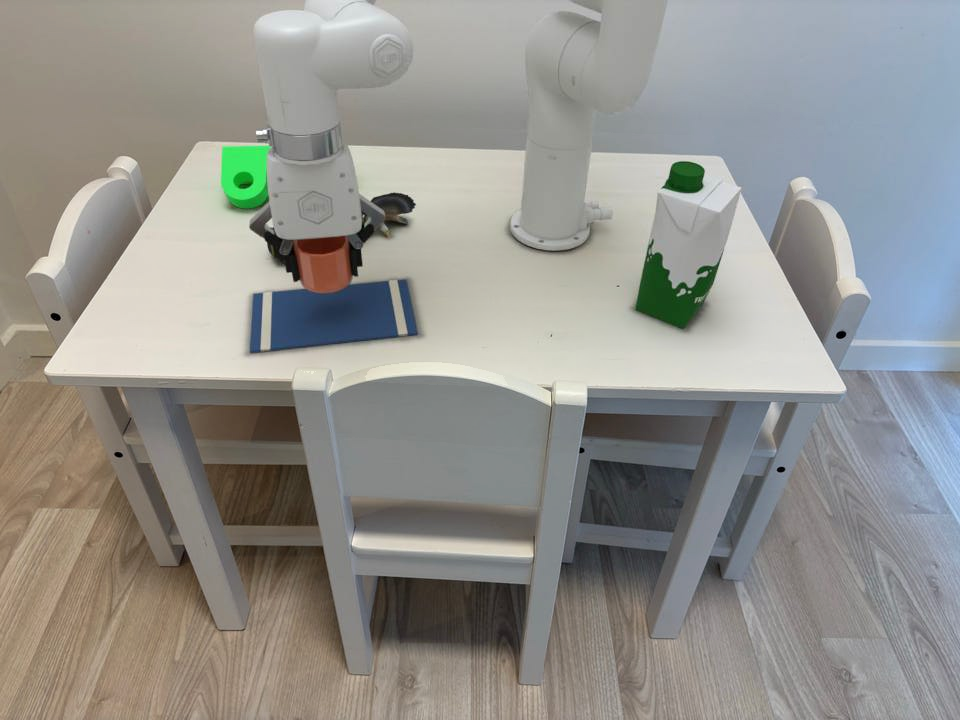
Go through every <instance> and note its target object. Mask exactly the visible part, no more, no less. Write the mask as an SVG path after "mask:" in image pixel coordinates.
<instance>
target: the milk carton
mask: <svg viewBox="0 0 960 720" xmlns="http://www.w3.org/2000/svg"><path fill="white" fill-rule="evenodd" d="M705 173H706V170H705V168H704V167H703V166H702V165H701V164H698V163H697V162H693V161H687V160H680V161H675V162H673V163H672V164H671V165H670V170H669V173H668V178H667V179H666V180H665V182H664V184H663V185H662V187H661V188H660V189H659V190H658V192H657V195H656V205H655V213H654V217H653V222H652V227H651V230H650V235H649V239H648V240H649V241H648V244H647V249H646V253H645V257H644V262H643V267H642V271H641V277H640V282H639V287H638V293H637V298H636V304H635V310H636V311H638V312H641V313H643V314H645V315H648V316H650V317H653V318H655V319H657V320H659V321H662V322H665V323H667V324H670V325H673V326H675V327H677V328H680V329H682V330H684V329H685V328H686V327H687V325H688V324H689V323H690V322H691V320H692V319H693V318H694V317H695V315H696V313H697V312H698V311H699V309H701V307H702V306H703V304H704V303H705V301H706V299H707V297H708V295H709V293H710V292H711V290H712V287H713V285H714V283H715V281H716V277H717V274H718V271H719V268H720V264H721V261H722V258H723V254H724V252H725V248H726V245H727V242H728V238H729V235H730V231H731V229H732V225H733V221H734V217H735V213H736V211H737V205H738V203H739V199H740V195H741V192H742V189H743V188H742V187H741V186H739V185H738V186H737V185H734V184H731V183H728V182H724V181H723V180H722V179H720V178H717V177H711V176H708V175H705Z"/></svg>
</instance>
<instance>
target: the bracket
mask: <svg viewBox="0 0 960 720" xmlns="http://www.w3.org/2000/svg"><path fill="white" fill-rule="evenodd" d="M270 147H271V146H269V145H230V146H229V145H228V146H226V145H225V146H222V147H221V167H220V168H221V169H220V171H221V172H220V186H221V187H222V191H223V192H224V194H225V196H226V198H227V200H228V202H230V203H231V204H232V205H233V206H234V207H237V208H239V209H244V210H245V209H247V210H248V209H254V208H257V207H259V206H261V205H262V204H263V203H265V201H266V200H267V199H268V198H269V193H268V184H267V168H266V164H267V153H268V150H269V148H270ZM244 184H246V185H247V184H248V185H249V184H251V185H250V186H249V187H246V188H240V186H241V185H244Z"/></svg>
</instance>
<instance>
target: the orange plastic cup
mask: <svg viewBox="0 0 960 720" xmlns="http://www.w3.org/2000/svg"><path fill="white" fill-rule="evenodd" d="M294 251H295V256H296V262H297V268H298V274H299V282H300V285H301V287H302V288H303V289H307V290H309V291H311V292H315V293H332V292H336V291H339V290H341V289H343V288H345V287H346V286H348V285H350V284H351V282H352V281H353V278H354V276H352V267H351V258H350V246H349V239H348V238H347V236H339V237H327V238H314V239H300V240H294Z"/></svg>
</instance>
